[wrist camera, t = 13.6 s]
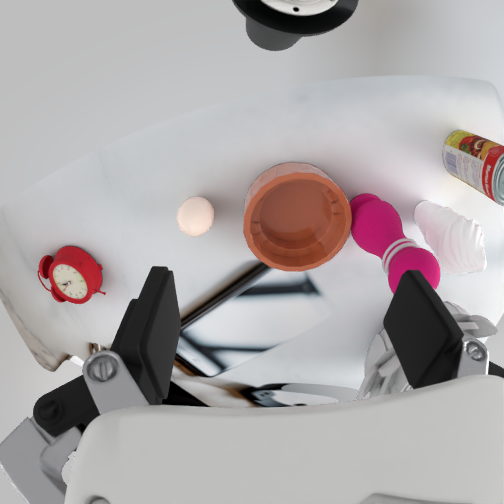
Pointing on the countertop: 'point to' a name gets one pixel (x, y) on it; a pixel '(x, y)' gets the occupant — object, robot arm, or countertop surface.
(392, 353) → the decorative bowl
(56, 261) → the alarm clock
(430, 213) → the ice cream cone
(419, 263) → the pepper mill
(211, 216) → the egg
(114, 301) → the countertop surface
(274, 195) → the bowl
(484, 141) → the canned food
